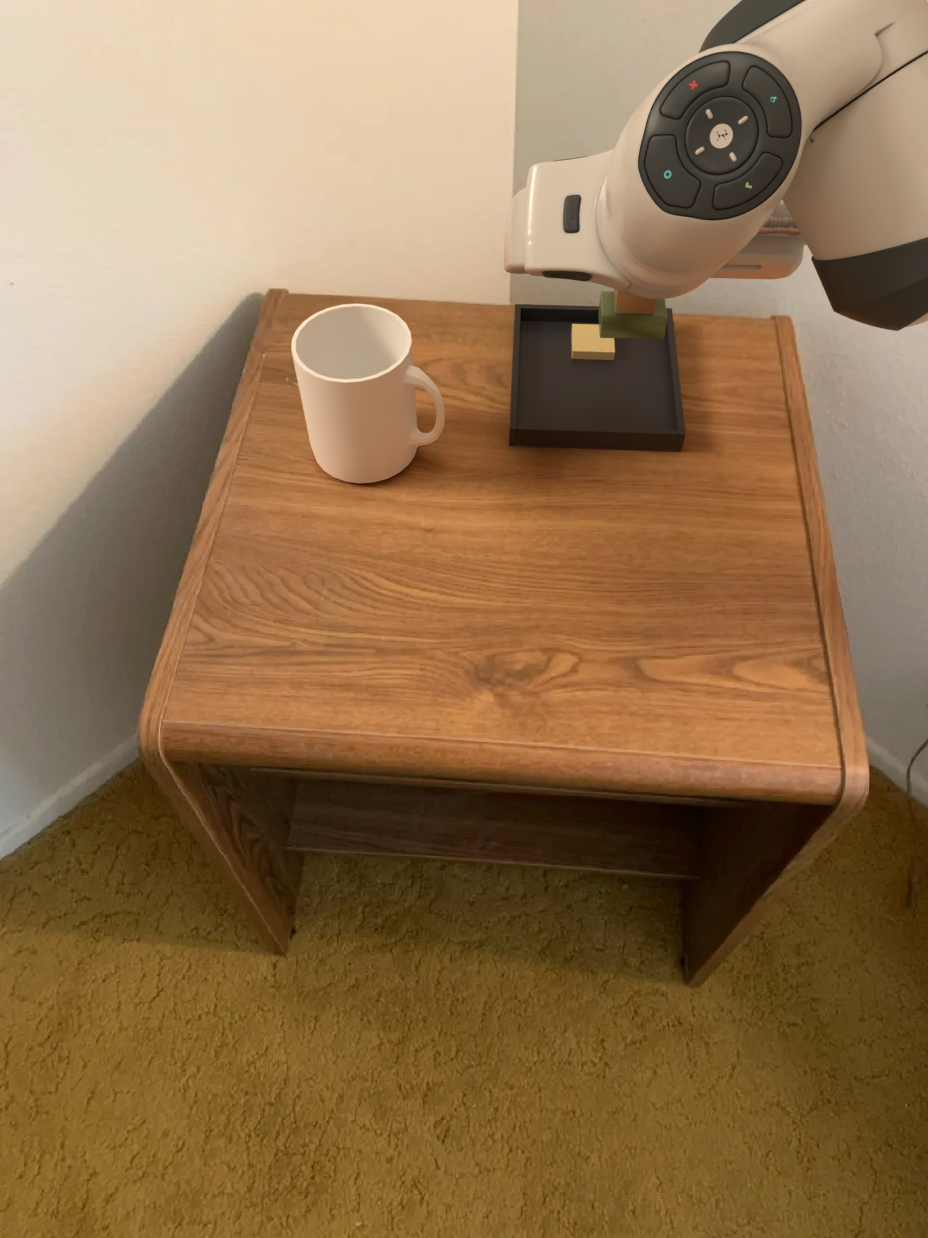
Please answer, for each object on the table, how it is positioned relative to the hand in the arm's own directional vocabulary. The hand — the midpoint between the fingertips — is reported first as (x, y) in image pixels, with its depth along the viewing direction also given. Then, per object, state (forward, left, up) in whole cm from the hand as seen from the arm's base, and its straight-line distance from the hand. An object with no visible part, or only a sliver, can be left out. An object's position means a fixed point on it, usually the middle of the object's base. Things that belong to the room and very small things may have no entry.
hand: (637, 264), depth 70 cm
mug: (+21, +5, -16) cm, 27 cm away
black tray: (+2, -5, -16) cm, 17 cm away
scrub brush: (0, +1, -5) cm, 5 cm away
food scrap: (+2, -9, -15) cm, 18 cm away
